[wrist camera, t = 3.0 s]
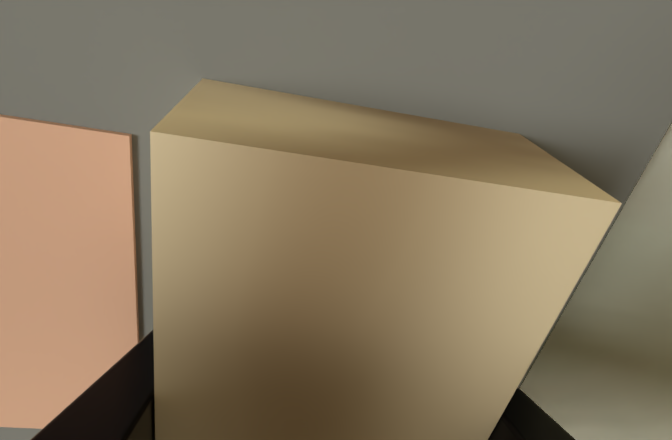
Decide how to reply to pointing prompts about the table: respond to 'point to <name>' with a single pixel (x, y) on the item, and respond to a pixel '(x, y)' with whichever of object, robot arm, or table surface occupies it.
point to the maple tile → (352, 268)
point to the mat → (277, 75)
